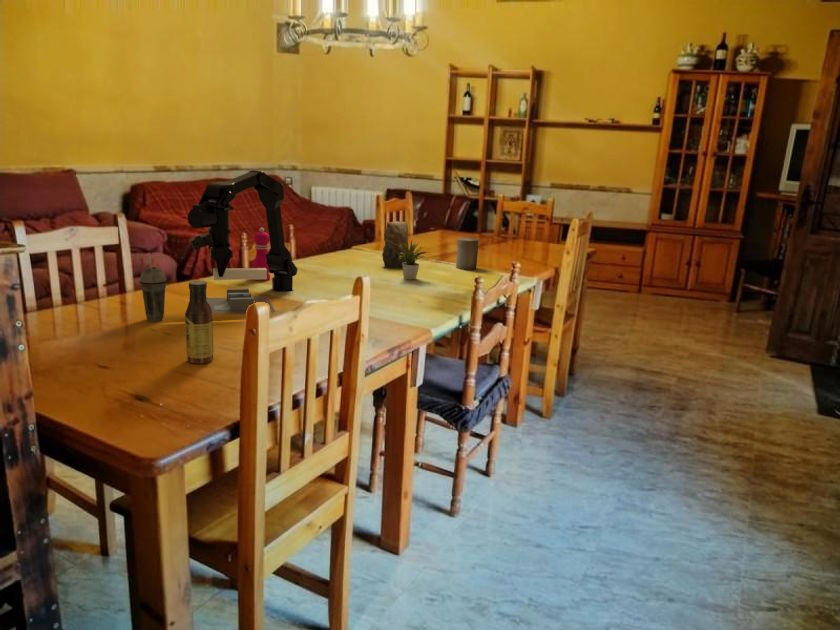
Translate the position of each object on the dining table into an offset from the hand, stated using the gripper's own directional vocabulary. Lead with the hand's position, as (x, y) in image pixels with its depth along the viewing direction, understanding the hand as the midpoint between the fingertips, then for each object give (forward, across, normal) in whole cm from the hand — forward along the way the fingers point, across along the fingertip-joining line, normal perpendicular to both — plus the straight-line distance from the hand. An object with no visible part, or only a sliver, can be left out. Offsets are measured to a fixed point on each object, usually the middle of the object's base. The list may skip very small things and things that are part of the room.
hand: (220, 275), depth 196 cm
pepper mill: (+11, -43, +18) cm, 48 cm away
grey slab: (+11, -3, +6) cm, 13 cm away
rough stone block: (+11, -65, +81) cm, 105 cm away
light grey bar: (+1, 0, +6) cm, 6 cm away
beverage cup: (+11, +9, -19) cm, 24 cm away
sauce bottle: (+11, +47, -8) cm, 49 cm away
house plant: (+11, -39, +77) cm, 87 cm away
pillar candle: (+11, -60, +113) cm, 129 cm away
